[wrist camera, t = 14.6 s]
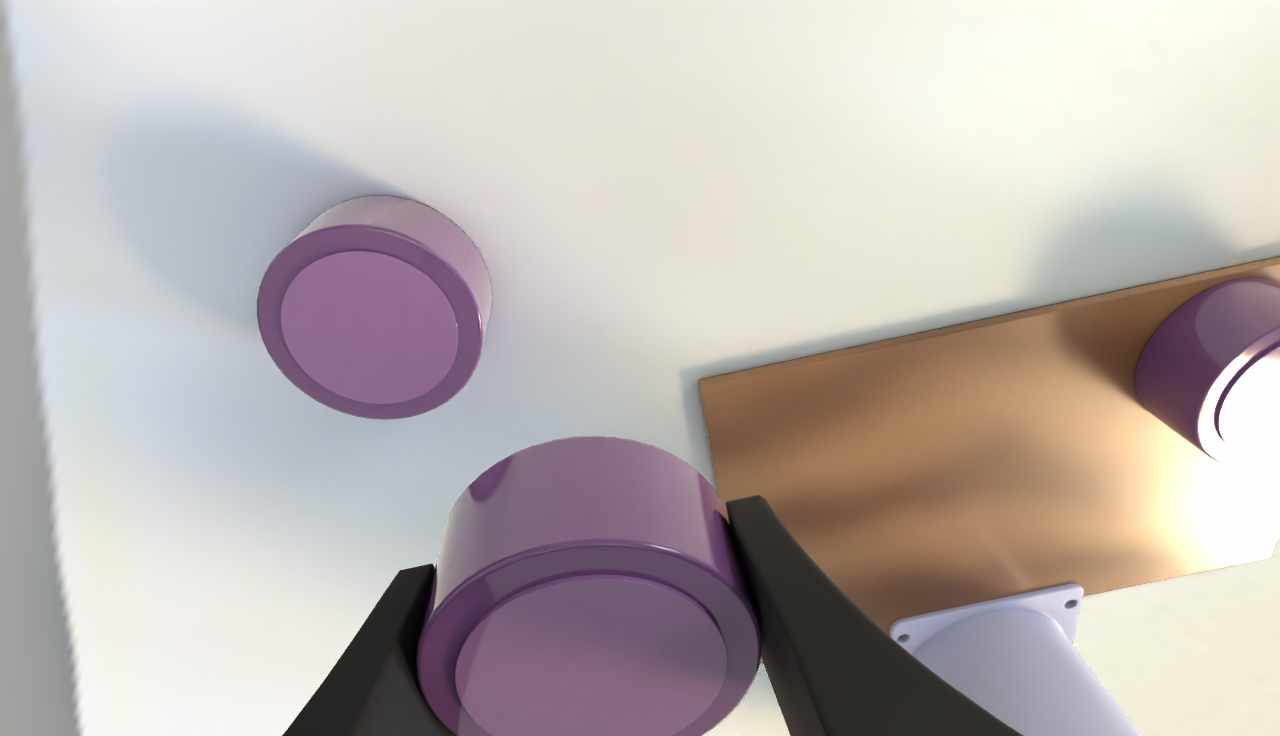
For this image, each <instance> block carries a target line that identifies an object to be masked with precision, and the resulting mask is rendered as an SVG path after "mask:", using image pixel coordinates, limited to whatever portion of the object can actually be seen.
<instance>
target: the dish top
mask: <svg viewBox="0 0 1280 736" xmlns="http://www.w3.org/2000/svg"><path fill="white" fill-rule="evenodd" d="M1135 391H1136V395H1137V397H1138V400H1139V402H1140V403H1141V405H1142V406H1143V408H1144V409H1146V410H1147V411H1148V412H1149V413H1150V414H1151V415H1153V416H1154V417H1156V418H1157V419H1158V420H1160V421H1161V422H1162V423H1164V424H1165V425H1166V426H1168V427H1169V428H1170V429H1172V430H1173V431H1175V432H1176V433H1177V434H1179V435H1180V436H1181V437H1183V438H1184V439H1185V440H1187V441H1188V442H1189V443H1191V444H1192V445H1194V446H1195V447H1196V448H1198V449H1199V450H1200V451H1202V452H1203V453H1204V454H1206V455H1207V456H1209V457H1210V458H1212V459H1214V460H1216V461H1218V462H1221V463H1225V464H1230V465H1240V466H1244V465H1255V464H1261V463H1266V462H1270V461H1274V460H1276V459H1279V458H1280V282H1279V281H1277V280H1273V279H1270V278H1263V277H1246V278H1240V279H1235V280H1231V281H1227V282H1224V283H1221V284H1219V285H1216V286H1213V287H1211V288H1209V289H1207V290H1205V291H1203V292H1201V293H1199V294H1198V295H1196V296H1194V297H1193V298H1191V299H1190V300H1188V301H1187V302H1185V303H1184V304H1183V305H1181V306H1180V307H1179V308H1178V309H1176V310H1175V311H1174V312H1173V313H1172V314H1171V315H1170V316H1169V317H1168V318H1167V319H1166V320H1165V321H1164V322H1163V323H1162V324H1161V325H1160V326H1159V327H1158V328H1157V330H1156V331H1155V332H1154V333H1153V335H1152V336H1151V338H1150V339H1149V340H1148V342H1147V344H1146V346H1145V347H1144V349H1143V351H1142V353H1141V356H1140V358H1139V360H1138V364H1137V367H1136V371H1135Z"/></svg>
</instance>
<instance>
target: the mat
mask: <svg viewBox="0 0 1280 736" xmlns="http://www.w3.org/2000/svg"><path fill="white" fill-rule="evenodd" d="M1246 277H1263V278H1270V279H1273V280H1277V281H1279V282H1280V257H1276V258H1271V259H1267V260H1262V261H1257V262H1252V263H1248V264H1243V265H1238V266H1234V267H1229V268H1224V269H1219V270H1215V271H1210V272H1205V273H1201V274H1196V275H1191V276H1186V277H1182V278H1177V279H1172V280H1168V281H1163V282H1158V283H1153V284H1149V285H1144V286H1139V287H1135V288H1130V289H1125V290H1120V291H1116V292H1111V293H1106V294H1102V295H1097V296H1092V297H1087V298H1083V299H1078V300H1073V301H1069V302H1064V303H1059V304H1054V305H1050V306H1045V307H1040V308H1036V309H1031V310H1026V311H1021V312H1017V313H1012V314H1007V315H1003V316H998V317H993V318H988V319H984V320H979V321H974V322H970V323H965V324H960V325H955V326H951V327H946V328H941V329H937V330H932V331H927V332H923V333H918V334H913V335H908V336H904V337H899V338H894V339H890V340H885V341H880V342H875V343H871V344H866V345H861V346H857V347H852V348H847V349H842V350H838V351H833V352H828V353H824V354H819V355H814V356H809V357H805V358H800V359H795V360H791V361H786V362H781V363H776V364H772V365H767V366H762V367H758V368H753V369H748V370H743V371H739V372H734V373H729V374H725V375H720V376H715V377H710V378H706V379H701V380H699V387H700V393H701V399H702V405H703V411H704V417H705V422H706V428H707V434H708V440H709V446H710V452H711V458H712V464H713V469H714V475H715V481H716V487H717V493H718V496H719V498H720V499H721V502H722V504H723V506H724V508H725V510H726V513H727V507H726V502H727V501H732V500H737V499H741V498H746V497H751V496H756V495H760V496H762V497H763V498H765V499H766V500H767V502H768V504H769V505H770V507H771V508H772V510H773V511H774V513H775V514H776V516H777V517H778V518H779V520H780V521H781V522H782V524H783V525H784V526H785V528H786V529H787V530H788V531H789V533H790V534H791V535H792V536H793V538H794V539H795V540H796V541H797V542H798V544H799V545H800V546H801V547H802V548H803V550H804V551H805V552H806V553H807V554H808V555H809V557H810V558H811V559H812V560H813V561H814V562H815V563H816V564H817V565H818V566H819V568H820V569H821V570H822V571H823V572H824V573H825V574H826V575H827V576H828V577H829V578H830V580H831V581H832V582H833V583H834V584H835V585H836V586H837V587H838V588H839V589H840V590H841V591H842V592H843V593H844V594H845V595H846V596H847V597H848V598H849V599H850V600H851V601H852V602H853V603H854V604H855V605H856V606H857V607H858V608H859V609H860V610H861V611H863V612H864V613H865V614H866V615H867V616H868V617H869V618H870V619H871V620H872V621H873V622H874V623H875V624H876V625H878V626H879V627H880V628H881V629H882V630H883V631H884V632H885V633H886V634H888V635H889V636H890V626H891V625H892V624H893V623H894V622H895V621H897V620H899V619H903V618H908V617H913V616H917V615H922V614H927V613H932V612H937V611H941V610H946V609H951V608H956V607H961V606H966V605H970V604H975V603H980V602H985V601H990V600H994V599H999V598H1004V597H1009V596H1014V595H1019V594H1023V593H1028V592H1033V591H1038V590H1043V589H1048V588H1052V587H1057V586H1062V585H1067V584H1073V583H1076V584H1079V585H1080V586H1081V587H1082V588H1083V589H1084V594H1083V596H1088V595H1093V594H1098V593H1103V592H1107V591H1112V590H1117V589H1122V588H1127V587H1131V586H1136V585H1141V584H1146V583H1151V582H1156V581H1160V580H1165V579H1170V578H1175V577H1180V576H1185V575H1189V574H1194V573H1199V572H1204V571H1209V570H1214V569H1218V568H1223V567H1228V566H1233V565H1238V564H1242V563H1247V562H1252V561H1257V560H1262V559H1267V558H1270V557H1271V555H1272V553H1273V550H1274V547H1275V545H1276V542H1277V540H1278V537H1279V535H1280V458H1279V459H1276V460H1274V461H1270V462H1266V463H1261V464H1255V465H1244V466H1240V465H1230V464H1225V463H1221V462H1218V461H1216V460H1214V459H1212V458H1210V457H1209V456H1207V455H1206V454H1204V453H1203V452H1202V451H1200V450H1199V449H1198V448H1196V447H1195V446H1194V445H1192V444H1191V443H1189V442H1188V441H1187V440H1185V439H1184V438H1183V437H1181V436H1180V435H1179V434H1177V433H1176V432H1175V431H1173V430H1172V429H1170V428H1169V427H1168V426H1166V425H1165V424H1164V423H1162V422H1161V421H1160V420H1158V419H1157V418H1156V417H1154V416H1153V415H1151V414H1150V413H1149V412H1148V411H1147V410H1146V409H1144V408H1143V406H1142V405H1141V403H1140V402H1139V400H1138V397H1137V395H1136V391H1135V371H1136V367H1137V364H1138V360H1139V358H1140V356H1141V353H1142V351H1143V349H1144V347H1145V346H1146V344H1147V342H1148V340H1149V339H1150V338H1151V336H1152V335H1153V333H1154V332H1155V331H1156V330H1157V328H1158V327H1159V326H1160V325H1161V324H1162V323H1163V322H1164V321H1165V320H1166V319H1167V318H1168V317H1169V316H1170V315H1171V314H1172V313H1173V312H1174V311H1175V310H1176V309H1178V308H1179V307H1180V306H1181V305H1183V304H1184V303H1185V302H1187V301H1188V300H1190V299H1191V298H1193V297H1194V296H1196V295H1198V294H1199V293H1201V292H1203V291H1205V290H1207V289H1209V288H1211V287H1213V286H1216V285H1219V284H1221V283H1224V282H1227V281H1231V280H1235V279H1240V278H1246ZM727 516H728V513H727ZM760 663H763V660H762V657H761V659H760Z"/></svg>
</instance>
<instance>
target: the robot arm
mask: <svg viewBox="0 0 1280 736" xmlns="http://www.w3.org/2000/svg"><path fill="white" fill-rule="evenodd" d="M726 507H727V513H728V519H729V525H730V528H731V531H732V535H733V538H734V541H735V545H736V548H737V551H738V555H739V558H740V561H741V565H742V568H743V571H744V574H745V576H746V579H747V583H748V586H749V589H750V593H751V596H752V599H753V603H754V606H755V609H756V613H757V616H758V620H759V624H760V627H761V632H762V651H761V657H762V660H763V663H764V665H765V668H766V671H767V674H768V676H769V679H770V682H771V684H772V687H773V690H774V692H775V695H776V698H777V700H778V703H779V706H780V708H781V711H782V714H783V716H784V719H785V722H786V724H787V727H788V730H789V732H790V735H791V736H1142V734H1141V733H1140V732H1139V731H1138V729H1137V728H1136V727H1135V725H1134V724H1133V723H1132V721H1131V720H1130V719H1129V717H1128V716H1127V715H1126V714H1125V712H1124V711H1123V710H1122V708H1121V707H1120V706H1119V704H1118V703H1117V702H1116V701H1115V699H1114V698H1113V697H1112V695H1111V694H1110V693H1109V691H1108V690H1107V689H1106V687H1105V686H1104V685H1103V684H1102V682H1101V681H1100V680H1099V678H1098V677H1097V676H1096V674H1095V673H1094V672H1093V671H1092V669H1091V668H1090V667H1089V665H1088V664H1087V663H1086V661H1085V660H1084V659H1083V657H1082V656H1081V655H1080V654H1079V652H1078V651H1077V650H1076V648H1075V647H1074V646H1073V642H1074V637H1075V632H1076V628H1077V623H1078V618H1079V613H1080V608H1081V604H1082V599H1083V594H1084V589H1083V588H1082V587H1081V586H1080V585H1079V584H1076V583H1073V584H1067V585H1062V586H1057V587H1052V588H1048V589H1043V590H1038V591H1033V592H1028V593H1023V594H1019V595H1014V596H1009V597H1004V598H999V599H994V600H990V601H985V602H980V603H975V604H970V605H966V606H961V607H956V608H951V609H946V610H941V611H937V612H932V613H927V614H922V615H917V616H913V617H908V618H903V619H899V620H897V621H895V622H894V623H893V624H892V625H891V626H890V636H889V635H888V634H886V633H885V632H884V631H883V630H882V629H881V628H880V627H879V626H878V625H876V624H875V623H874V622H873V621H872V620H871V619H870V618H869V617H868V616H867V615H866V614H865V613H864V612H863V611H861V610H860V609H859V608H858V607H857V606H856V605H855V604H854V603H853V602H852V601H851V600H850V599H849V598H848V597H847V596H846V595H845V594H844V593H843V592H842V591H841V590H840V589H839V588H838V587H837V586H836V585H835V584H834V583H833V582H832V581H831V580H830V578H829V577H828V576H827V575H826V574H825V573H824V572H823V571H822V570H821V569H820V568H819V566H818V565H817V564H816V563H815V562H814V561H813V560H812V559H811V558H810V557H809V555H808V554H807V553H806V552H805V551H804V550H803V548H802V547H801V546H800V545H799V544H798V542H797V541H796V540H795V539H794V538H793V536H792V535H791V534H790V533H789V531H788V530H787V529H786V528H785V526H784V525H783V524H782V522H781V521H780V520H779V518H778V517H777V516H776V514H775V513H774V511H773V510H772V508H771V507H770V505H769V504H768V502H767V500H766V499H765V498H763V497H762V496H760V495H756V496H751V497H746V498H741V499H737V500H732V501H727V502H726ZM434 572H435V568H434V566H433V564H428V565H424V566H419V567H414V568H409V569H405V570H400V571H399V572H398V574H397V575H396V577H395V578H394V580H393V581H392V582H391V584H390V585H389V587H388V588H387V590H386V591H385V593H384V594H383V596H382V597H381V599H380V600H379V602H378V603H377V605H376V606H375V608H374V609H373V611H372V612H371V613H370V615H369V616H368V618H367V619H366V621H365V622H364V624H363V625H362V627H361V628H360V630H359V631H358V633H357V634H356V636H355V637H354V639H353V640H352V642H351V643H350V645H349V646H348V647H347V649H346V650H345V652H344V653H343V655H342V656H341V657H340V659H339V660H338V662H337V663H336V665H335V666H334V667H333V669H332V670H331V672H330V673H329V675H328V676H327V677H326V679H325V680H324V682H323V683H322V684H321V686H320V687H319V688H318V690H317V691H316V692H315V694H314V695H313V696H312V697H311V699H310V700H309V701H308V703H307V704H306V705H305V707H304V708H303V709H302V711H301V712H300V713H299V715H298V716H297V717H296V719H295V720H294V721H293V723H292V724H291V725H290V727H289V728H288V729H287V731H286V732H285V733H284V734H283V735H282V736H456V735H455V734H453V733H452V732H451V731H449V730H448V729H447V728H446V727H445V726H444V725H443V724H442V723H441V722H440V721H439V720H438V719H437V718H436V716H435V715H434V713H433V712H432V710H431V709H430V708H429V706H428V705H427V703H426V700H425V698H424V696H423V694H422V692H421V689H420V685H419V680H418V676H417V672H416V654H417V648H418V642H419V637H420V633H421V629H422V624H423V620H424V616H425V611H426V607H427V603H428V598H429V594H430V589H431V585H432V581H433V576H434Z"/></svg>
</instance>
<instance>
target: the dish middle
mask: <svg viewBox="0 0 1280 736" xmlns="http://www.w3.org/2000/svg"><path fill="white" fill-rule="evenodd" d="M761 651H762V632H761V627H760V624H759V620H758V616H757V613H756V609H755V606H754V603H753V599H752V596H751V593H750V589H749V586H748V583H747V579H746V576H745V574H744V571H743V568H742V565H741V561H740V558H739V555H738V551H737V548H736V545H735V541H734V538H733V535H732V531H731V528H730V525H729V519H728V516H727V513H726V510H725V508H724V506H723V504H722V502H721V499H720V498H719V496H718V495H717V493H716V492H715V490H714V489H713V487H712V486H711V485H710V484H709V483H708V482H707V480H706V479H705V478H704V477H703V476H702V475H701V474H700V473H699V472H697V471H696V470H695V469H693V468H692V467H691V466H690V465H688V464H687V463H686V462H684V461H683V460H681V459H679V458H677V457H676V456H674V455H672V454H671V453H669V452H666V451H664V450H662V449H659V448H657V447H654V446H652V445H648V444H645V443H641V442H638V441H635V440H629V439H623V438H617V437H604V436H583V437H570V438H564V439H557V440H552V441H548V442H545V443H541V444H537V445H534V446H531V447H529V448H526V449H524V450H521V451H519V452H516V453H514V454H512V455H510V456H508V457H507V458H505V459H503V460H501V461H499V462H498V463H496V464H495V465H493V466H492V467H491V468H489V469H488V470H486V471H485V472H483V473H482V474H481V475H480V476H479V477H478V478H477V479H476V480H475V481H474V482H473V483H472V484H471V485H470V486H468V488H467V489H466V490H465V491H464V493H463V494H462V495H461V496H460V498H459V499H458V500H457V502H456V504H455V506H454V507H453V509H452V511H451V513H450V515H449V517H448V520H447V523H446V526H445V528H444V533H443V537H442V541H441V546H440V550H439V554H438V559H437V563H436V568H435V572H434V576H433V581H432V585H431V589H430V594H429V598H428V603H427V607H426V611H425V616H424V620H423V624H422V629H421V633H420V637H419V642H418V648H417V654H416V672H417V676H418V680H419V685H420V689H421V692H422V694H423V696H424V698H425V700H426V703H427V705H428V706H429V708H430V709H431V710H432V712H433V713H434V715H435V716H436V718H437V719H438V720H439V721H440V722H441V723H442V724H443V725H444V726H445V727H446V728H447V729H448V730H449V731H451V732H452V733H453V734H455V735H456V736H702V735H704V734H705V733H707V732H708V731H710V730H711V729H713V728H714V727H715V726H717V725H718V724H719V723H720V722H721V721H723V720H724V719H725V718H726V717H727V716H728V715H729V714H730V713H731V712H732V711H733V710H734V709H735V708H736V707H737V706H738V705H739V703H740V702H741V701H742V699H743V698H744V697H745V695H746V694H747V692H748V691H749V689H750V687H751V685H752V683H753V681H754V679H755V677H756V674H757V671H758V667H759V664H760V659H761Z"/></svg>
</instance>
